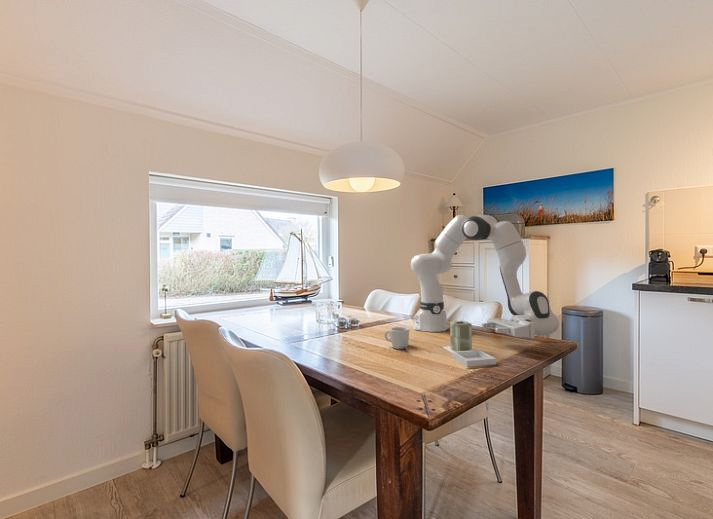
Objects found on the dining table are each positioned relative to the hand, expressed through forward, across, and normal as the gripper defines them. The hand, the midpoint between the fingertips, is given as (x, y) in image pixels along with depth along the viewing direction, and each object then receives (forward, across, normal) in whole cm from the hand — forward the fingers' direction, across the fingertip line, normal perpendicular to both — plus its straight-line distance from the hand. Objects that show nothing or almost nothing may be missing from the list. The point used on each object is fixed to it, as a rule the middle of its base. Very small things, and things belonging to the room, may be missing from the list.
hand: (489, 328), depth 142 cm
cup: (+34, -14, +9) cm, 38 cm away
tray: (+14, +13, +9) cm, 21 cm away
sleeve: (+12, 0, +8) cm, 15 cm away
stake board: (+12, -2, +9) cm, 15 cm away
